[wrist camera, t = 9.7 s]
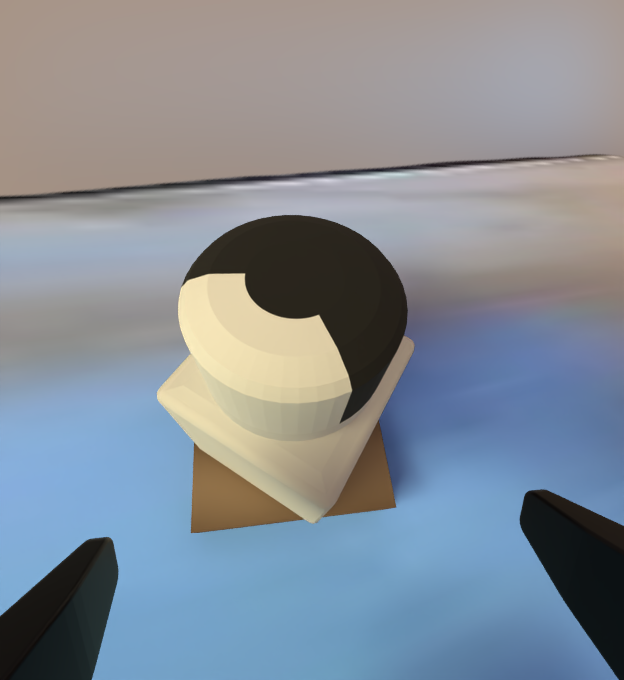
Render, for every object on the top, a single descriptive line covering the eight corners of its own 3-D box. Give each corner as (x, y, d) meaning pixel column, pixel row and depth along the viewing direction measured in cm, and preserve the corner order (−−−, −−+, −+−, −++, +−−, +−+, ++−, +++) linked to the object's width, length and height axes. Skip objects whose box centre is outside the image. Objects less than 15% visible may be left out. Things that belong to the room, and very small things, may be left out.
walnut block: (380, 510, 21) (396, 507, 18) (201, 532, 19) (190, 532, 17) (351, 354, 25) (361, 333, 23) (205, 363, 24) (197, 342, 21)
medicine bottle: (273, 344, 22) (259, 156, 11) (380, 404, 20) (476, 248, 10) (195, 446, 18) (75, 311, 8) (315, 527, 17) (358, 489, 6)
